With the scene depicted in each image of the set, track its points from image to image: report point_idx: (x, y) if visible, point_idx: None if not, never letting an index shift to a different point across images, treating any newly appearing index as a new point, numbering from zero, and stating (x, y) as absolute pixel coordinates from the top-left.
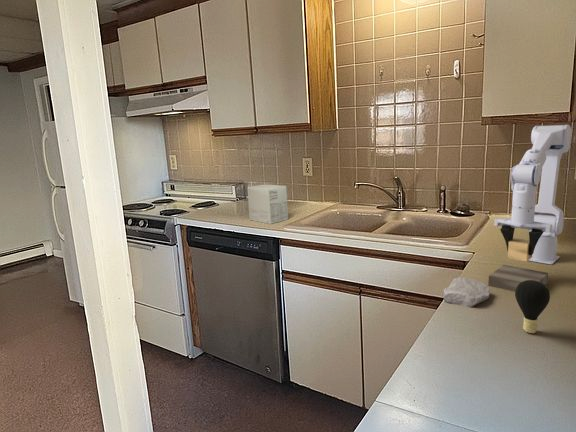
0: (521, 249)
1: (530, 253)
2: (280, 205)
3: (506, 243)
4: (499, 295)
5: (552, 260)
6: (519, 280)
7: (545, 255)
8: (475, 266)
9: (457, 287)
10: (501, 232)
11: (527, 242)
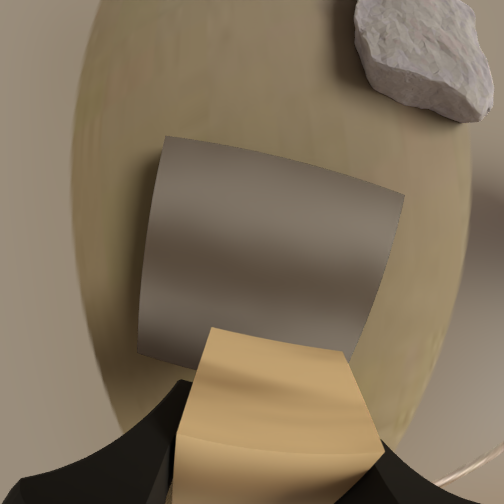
0: (249, 398)
1: (179, 387)
2: None
3: (385, 446)
4: (322, 87)
5: None
6: (248, 175)
7: None
8: (411, 391)
9: (455, 18)
10: (472, 501)
11: (199, 481)
